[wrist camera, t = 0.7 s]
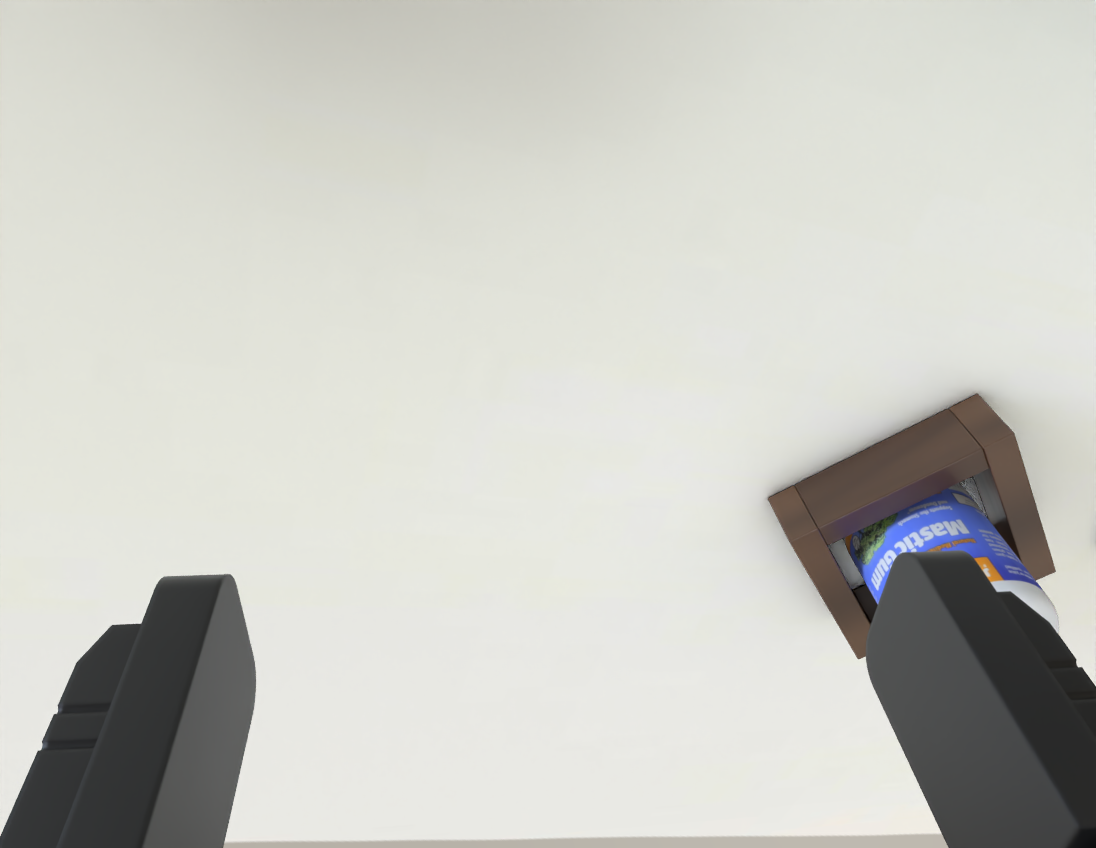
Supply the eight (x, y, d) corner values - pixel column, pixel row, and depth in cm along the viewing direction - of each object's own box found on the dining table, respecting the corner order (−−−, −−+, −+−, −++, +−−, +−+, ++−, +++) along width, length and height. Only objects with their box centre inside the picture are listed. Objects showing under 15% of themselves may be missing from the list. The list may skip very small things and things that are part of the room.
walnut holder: (767, 497, 36) (789, 542, 34) (977, 393, 34) (1014, 433, 32) (835, 615, 41) (858, 660, 39) (1022, 529, 39) (1056, 571, 37)
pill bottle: (916, 444, 36) (1059, 632, 28) (986, 501, 38) (1136, 688, 30) (813, 528, 38) (919, 724, 30) (886, 576, 40) (1002, 769, 32)
